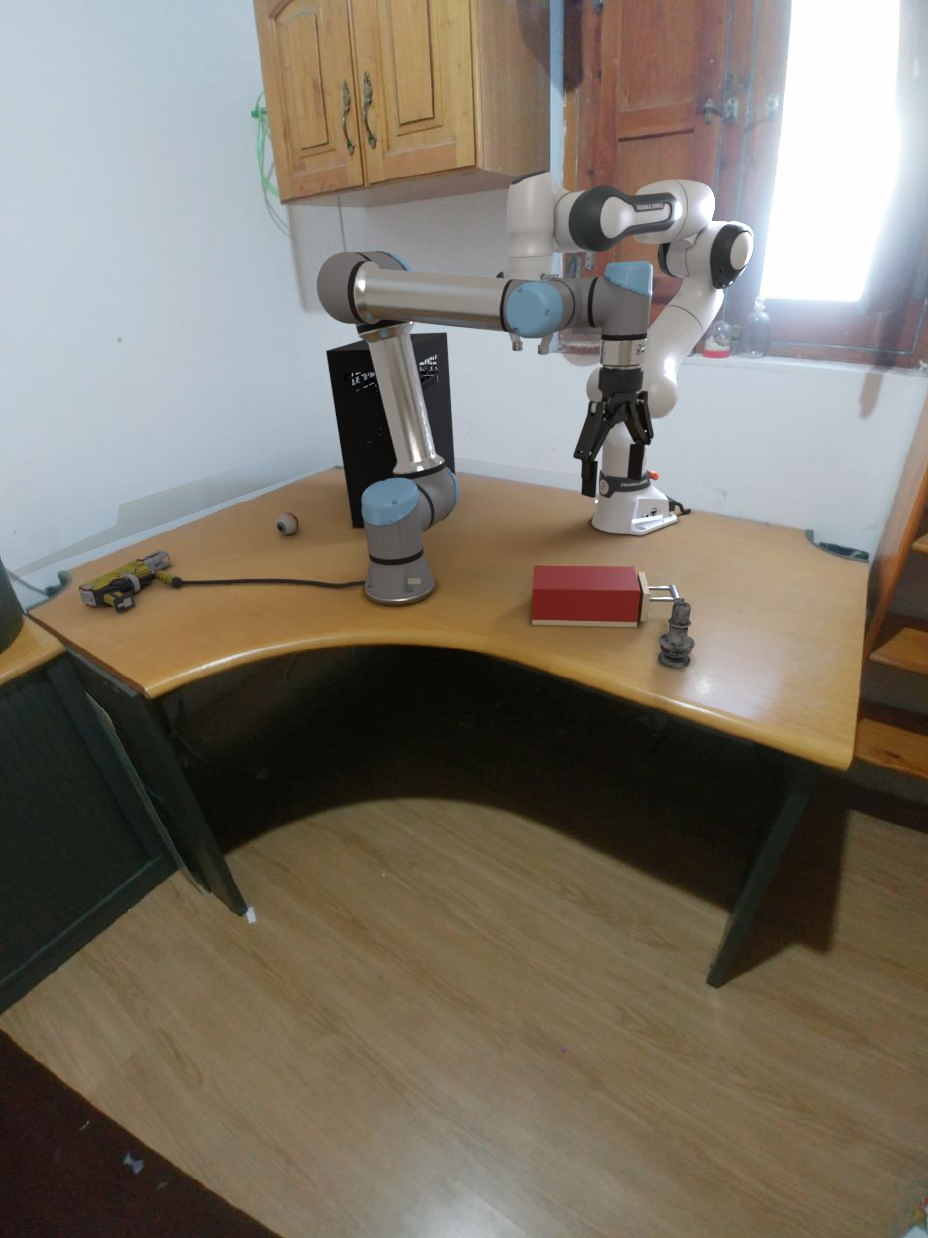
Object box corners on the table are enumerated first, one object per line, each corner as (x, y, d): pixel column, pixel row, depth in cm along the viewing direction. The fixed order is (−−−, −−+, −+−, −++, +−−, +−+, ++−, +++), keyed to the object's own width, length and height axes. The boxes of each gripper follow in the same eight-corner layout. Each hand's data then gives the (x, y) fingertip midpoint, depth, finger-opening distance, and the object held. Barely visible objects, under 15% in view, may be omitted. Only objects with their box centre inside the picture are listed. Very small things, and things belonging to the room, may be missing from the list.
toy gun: (206, 558, 145) (156, 547, 149) (127, 600, 125) (71, 586, 129) (209, 576, 148) (160, 565, 152) (132, 620, 128) (77, 606, 132)
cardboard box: (422, 529, 163) (406, 348, 140) (352, 527, 167) (325, 350, 145) (456, 486, 194) (446, 332, 172) (396, 484, 199) (379, 334, 176)
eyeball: (273, 537, 164) (268, 516, 161) (287, 528, 169) (282, 508, 166) (291, 539, 161) (286, 518, 158) (305, 530, 166) (301, 510, 163)
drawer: (672, 599, 121) (676, 572, 118) (680, 622, 113) (684, 594, 110) (548, 596, 124) (549, 570, 121) (547, 619, 117) (548, 591, 114)
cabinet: (630, 600, 123) (634, 566, 119) (636, 627, 114) (640, 590, 110) (533, 599, 126) (534, 565, 122) (532, 624, 117) (532, 588, 113)
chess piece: (694, 669, 101) (704, 607, 95) (657, 667, 102) (665, 605, 96) (690, 650, 106) (699, 590, 100) (655, 648, 107) (662, 588, 101)
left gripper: (591, 378, 94) (584, 508, 104) (682, 358, 107) (667, 475, 118) (555, 373, 99) (551, 498, 109) (646, 355, 112) (635, 468, 123)
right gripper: (576, 272, 110) (573, 354, 117) (515, 275, 125) (516, 347, 132) (548, 274, 107) (547, 358, 114) (489, 276, 123) (491, 350, 130)
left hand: (611, 487), depth 114 cm, fingers open, 13 cm apart
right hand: (530, 352), depth 123 cm, fingers open, 8 cm apart
